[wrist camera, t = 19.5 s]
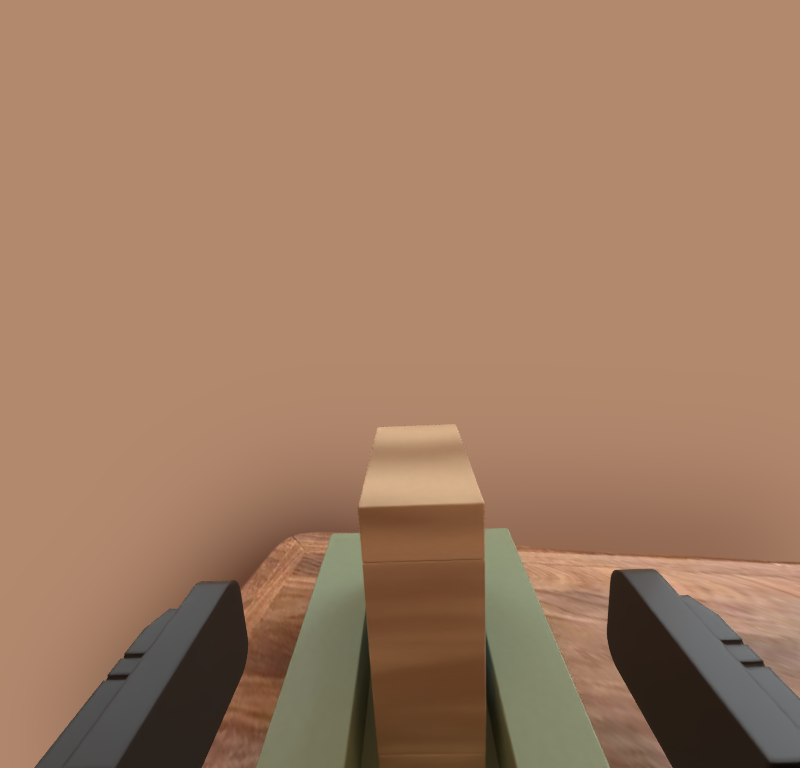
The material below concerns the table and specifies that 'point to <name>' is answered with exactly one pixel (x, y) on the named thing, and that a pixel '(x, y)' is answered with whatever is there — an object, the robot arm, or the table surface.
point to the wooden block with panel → (425, 598)
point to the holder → (352, 686)
